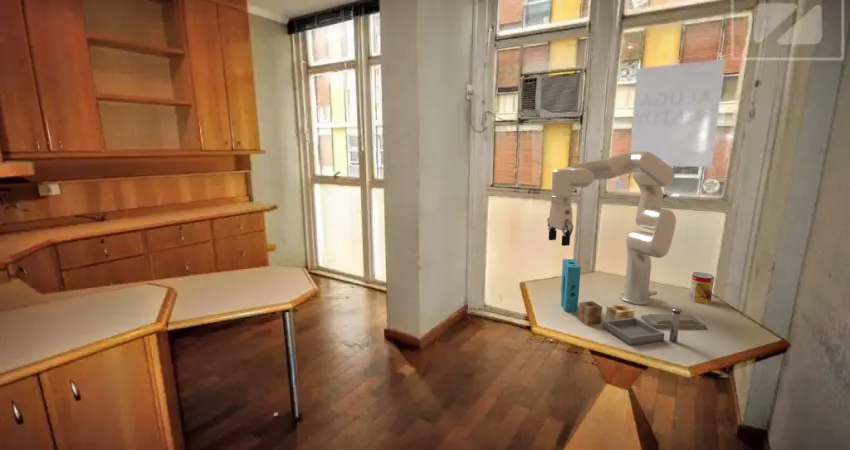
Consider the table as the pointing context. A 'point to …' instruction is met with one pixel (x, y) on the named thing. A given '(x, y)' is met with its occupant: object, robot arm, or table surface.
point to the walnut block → (590, 313)
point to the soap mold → (665, 321)
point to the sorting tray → (633, 331)
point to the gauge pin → (674, 325)
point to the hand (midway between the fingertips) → (558, 242)
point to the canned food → (701, 287)
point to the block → (570, 285)
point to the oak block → (619, 312)
